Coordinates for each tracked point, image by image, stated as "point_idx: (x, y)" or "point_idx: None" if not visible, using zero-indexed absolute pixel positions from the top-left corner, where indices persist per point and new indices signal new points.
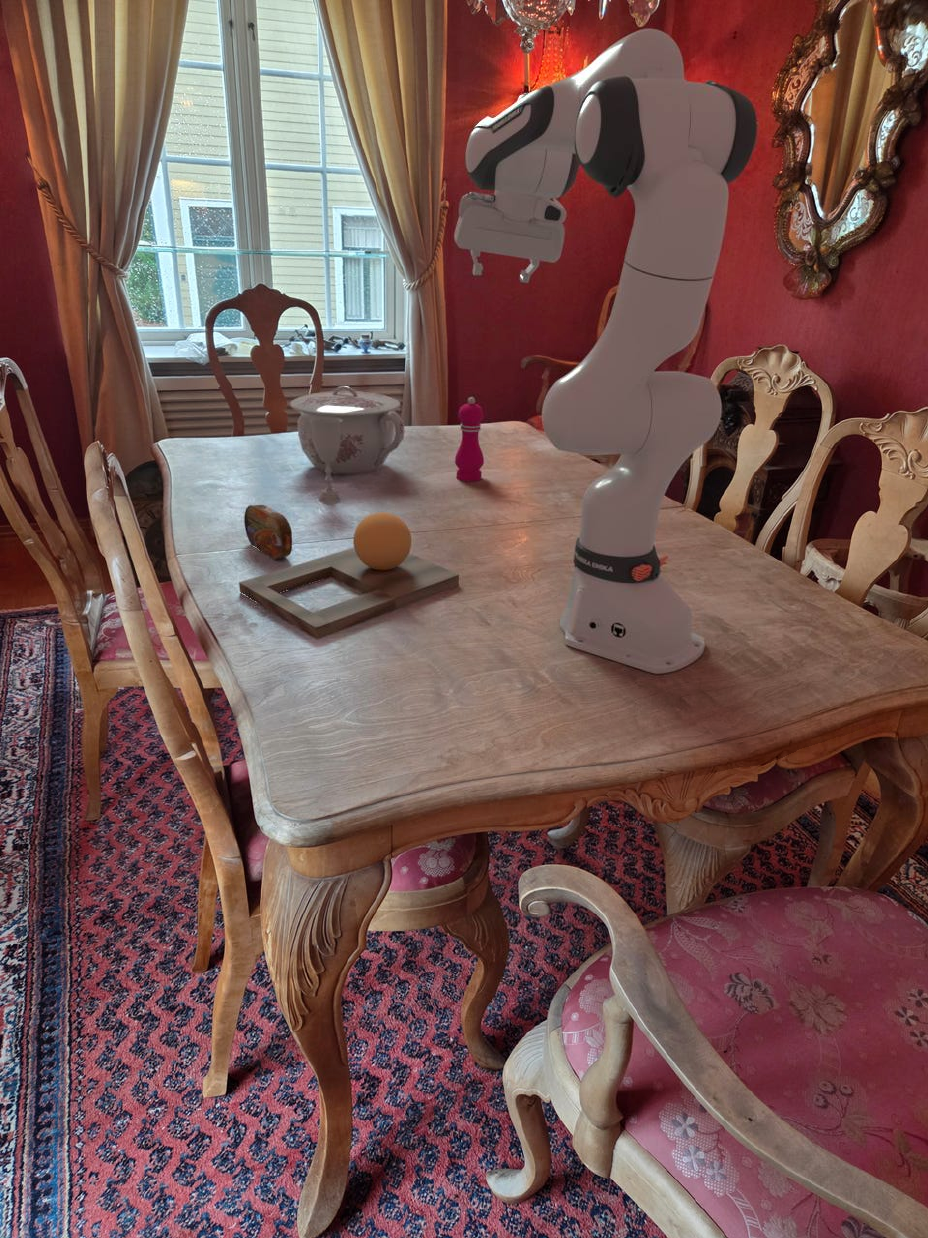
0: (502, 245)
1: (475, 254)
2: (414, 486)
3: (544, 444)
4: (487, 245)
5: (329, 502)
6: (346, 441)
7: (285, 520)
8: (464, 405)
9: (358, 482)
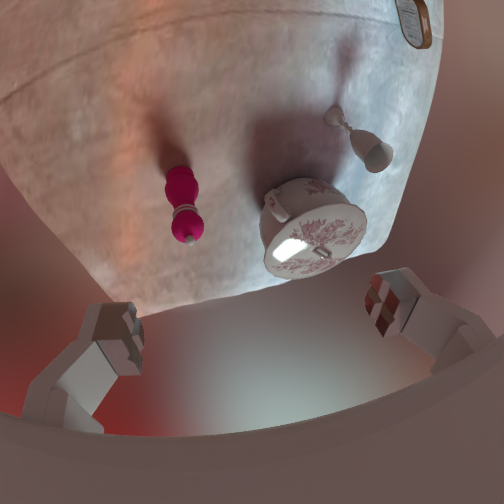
0: (424, 458)
1: (477, 327)
2: (244, 148)
3: (102, 278)
4: (498, 384)
5: (337, 107)
6: (322, 188)
7: (417, 2)
8: (198, 233)
9: (296, 162)
